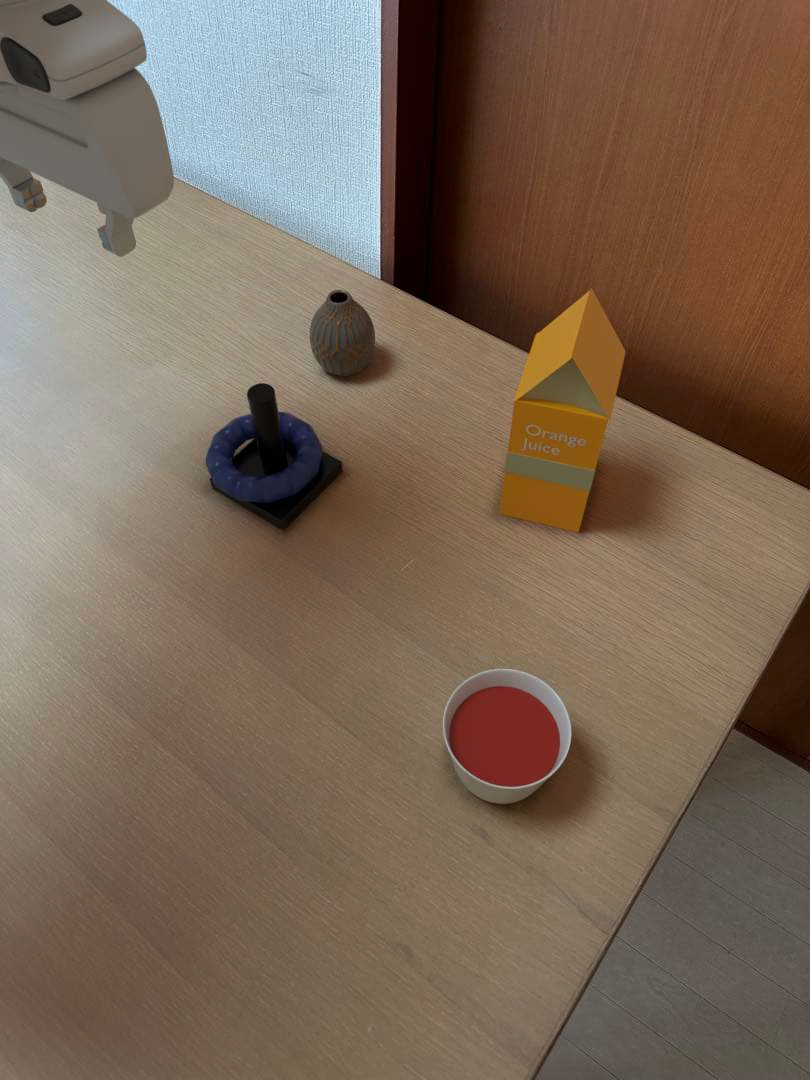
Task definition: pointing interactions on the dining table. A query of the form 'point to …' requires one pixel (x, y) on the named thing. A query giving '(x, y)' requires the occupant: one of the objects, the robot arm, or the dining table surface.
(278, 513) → the black post stand
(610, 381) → the orange juice
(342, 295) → the vase
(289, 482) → the ring
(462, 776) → the candle
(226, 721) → the dining table surface
